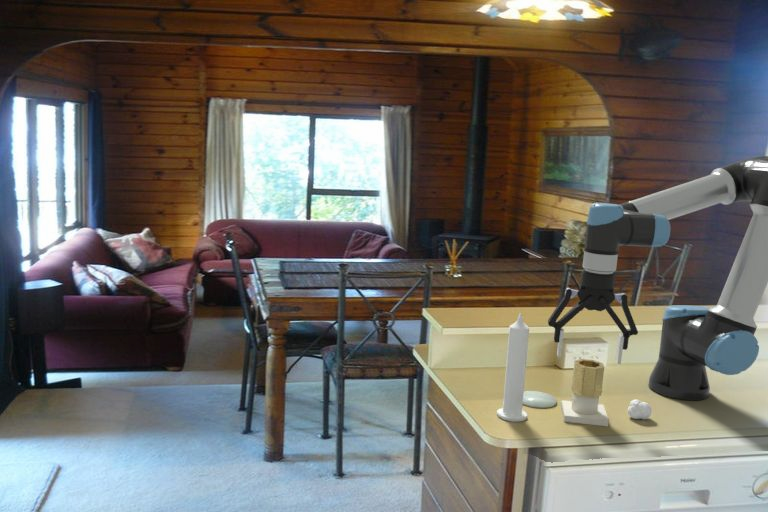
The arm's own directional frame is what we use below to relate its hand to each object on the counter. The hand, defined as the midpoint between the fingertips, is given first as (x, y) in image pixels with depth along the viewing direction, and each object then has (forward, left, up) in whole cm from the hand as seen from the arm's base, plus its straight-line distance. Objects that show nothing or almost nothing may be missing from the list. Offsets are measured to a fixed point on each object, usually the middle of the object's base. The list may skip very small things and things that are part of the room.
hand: (588, 359), depth 174 cm
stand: (0, 0, -14) cm, 14 cm away
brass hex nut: (0, 0, -8) cm, 8 cm away
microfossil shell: (-13, -3, -15) cm, 20 cm away
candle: (+17, +5, -14) cm, 23 cm away
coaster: (+11, -7, -14) cm, 19 cm away
